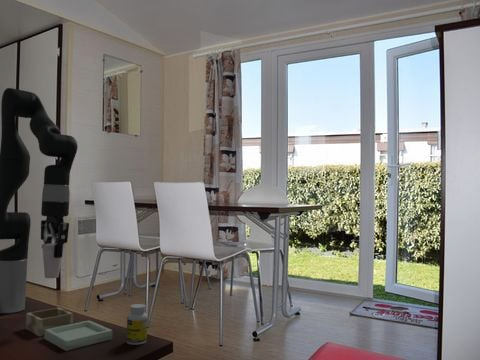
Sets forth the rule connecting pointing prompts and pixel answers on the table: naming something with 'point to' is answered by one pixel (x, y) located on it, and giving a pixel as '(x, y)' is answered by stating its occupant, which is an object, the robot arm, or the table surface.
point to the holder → (47, 320)
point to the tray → (77, 335)
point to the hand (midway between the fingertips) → (52, 256)
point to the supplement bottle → (137, 325)
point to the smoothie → (51, 261)
